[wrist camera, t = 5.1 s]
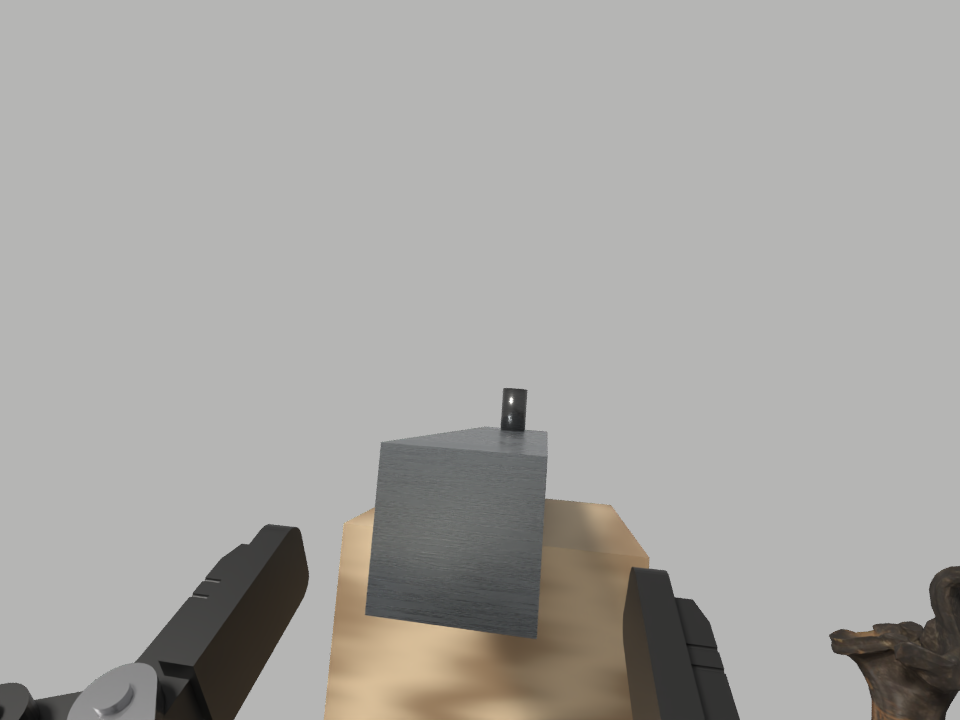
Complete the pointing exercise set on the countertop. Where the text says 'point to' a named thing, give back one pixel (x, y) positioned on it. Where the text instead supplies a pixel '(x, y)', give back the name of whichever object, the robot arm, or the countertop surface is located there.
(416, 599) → the tin
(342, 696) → the oak block
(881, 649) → the vase
